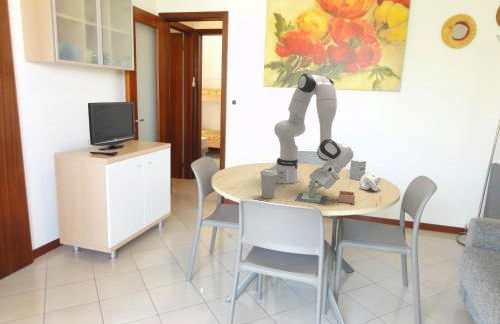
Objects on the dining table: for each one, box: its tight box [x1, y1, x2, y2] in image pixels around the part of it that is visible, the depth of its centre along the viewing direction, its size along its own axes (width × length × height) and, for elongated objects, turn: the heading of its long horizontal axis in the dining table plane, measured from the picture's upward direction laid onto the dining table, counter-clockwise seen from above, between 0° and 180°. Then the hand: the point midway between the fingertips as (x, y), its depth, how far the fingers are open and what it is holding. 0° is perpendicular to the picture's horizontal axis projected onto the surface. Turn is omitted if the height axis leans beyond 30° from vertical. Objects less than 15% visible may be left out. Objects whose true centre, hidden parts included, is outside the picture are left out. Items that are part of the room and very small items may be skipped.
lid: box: [301, 179, 323, 202], centre depth 190 cm, size 10×10×10 cm
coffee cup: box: [259, 167, 278, 199], centre depth 192 cm, size 10×10×15 cm
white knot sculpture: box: [359, 173, 382, 192], centre depth 213 cm, size 11×12×9 cm
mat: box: [294, 192, 329, 205], centre depth 191 cm, size 16×16×1 cm
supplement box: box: [349, 158, 367, 181], centre depth 239 cm, size 7×7×13 cm
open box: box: [337, 190, 356, 206], centre depth 189 cm, size 8×8×4 cm
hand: (311, 188), depth 190 cm, fingers closed on lid, 4 cm apart
